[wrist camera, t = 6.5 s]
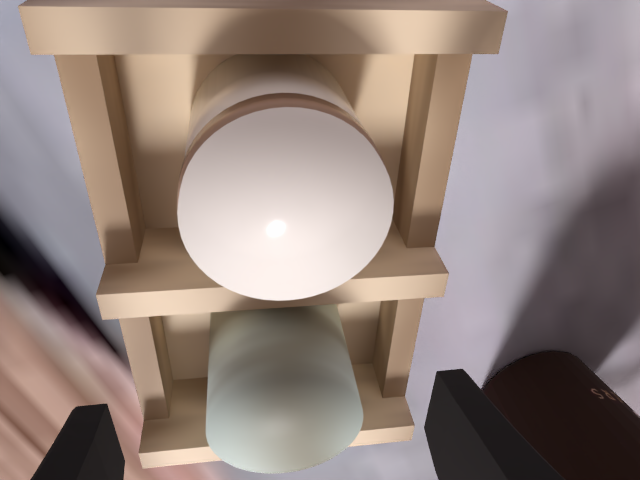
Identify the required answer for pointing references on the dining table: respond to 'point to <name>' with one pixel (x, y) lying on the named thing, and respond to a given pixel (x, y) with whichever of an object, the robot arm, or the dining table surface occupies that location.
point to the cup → (280, 180)
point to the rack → (210, 297)
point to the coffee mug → (569, 417)
